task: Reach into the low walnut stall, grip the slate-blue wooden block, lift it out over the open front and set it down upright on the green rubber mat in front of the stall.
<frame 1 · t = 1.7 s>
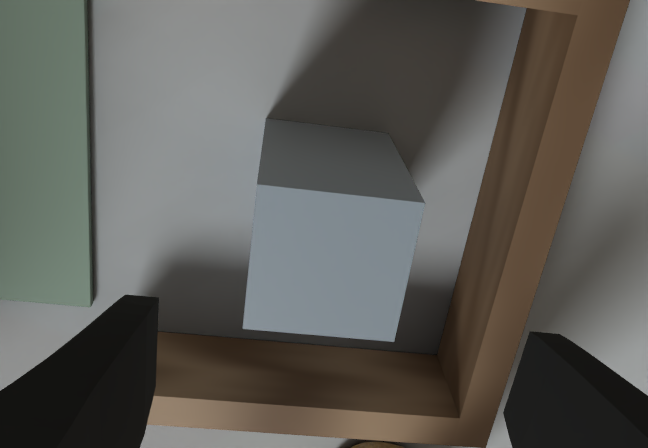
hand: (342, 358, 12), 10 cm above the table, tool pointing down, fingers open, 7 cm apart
walnut stall: (319, 183, 20), on the table
slate block: (323, 219, 18), in the walnut stall
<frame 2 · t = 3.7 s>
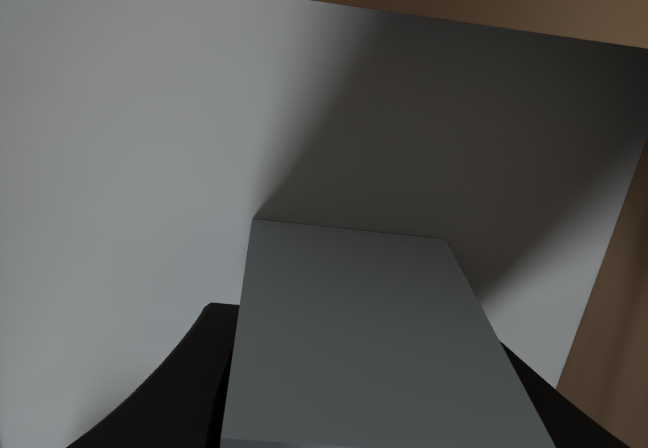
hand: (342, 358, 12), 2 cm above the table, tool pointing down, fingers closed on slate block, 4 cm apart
walnut stall: (335, 313, 13), on the table
slate block: (347, 406, 10), in the walnut stall, touching gripper
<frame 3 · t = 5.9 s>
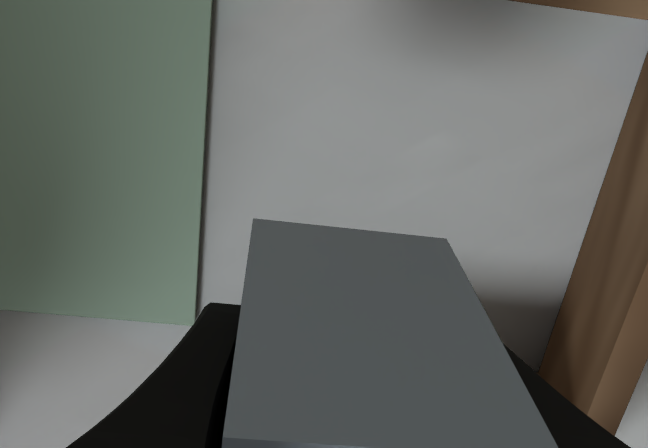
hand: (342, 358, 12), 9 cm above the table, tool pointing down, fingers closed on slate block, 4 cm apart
green mat: (57, 160, 19), on the table
walnut stall: (432, 200, 20), on the table
slate block: (349, 406, 10), point 10 cm above the table, touching gripper
when the fingers open (3 cm above the table, at t = 8.4 s): slate block drops 1 cm, resting on green mat.
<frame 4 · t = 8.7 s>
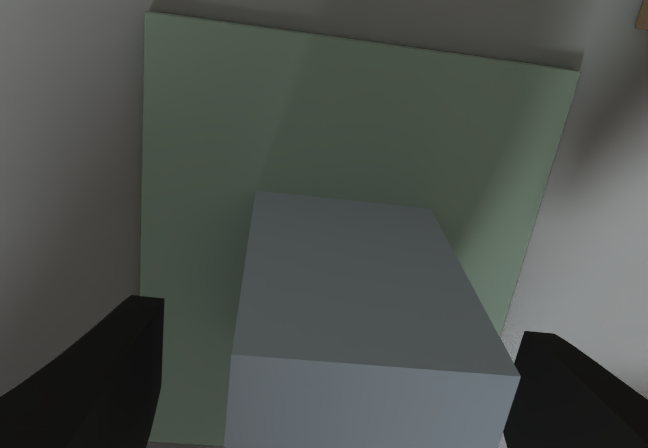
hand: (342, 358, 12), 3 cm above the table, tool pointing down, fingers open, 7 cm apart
green mat: (331, 272, 15), on the table
slate block: (341, 352, 12), resting on green mat
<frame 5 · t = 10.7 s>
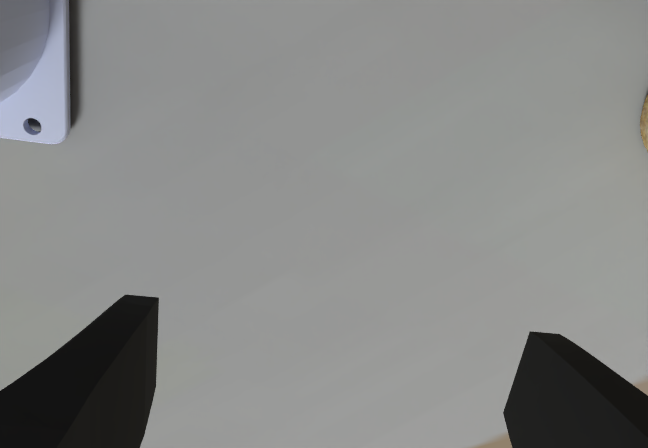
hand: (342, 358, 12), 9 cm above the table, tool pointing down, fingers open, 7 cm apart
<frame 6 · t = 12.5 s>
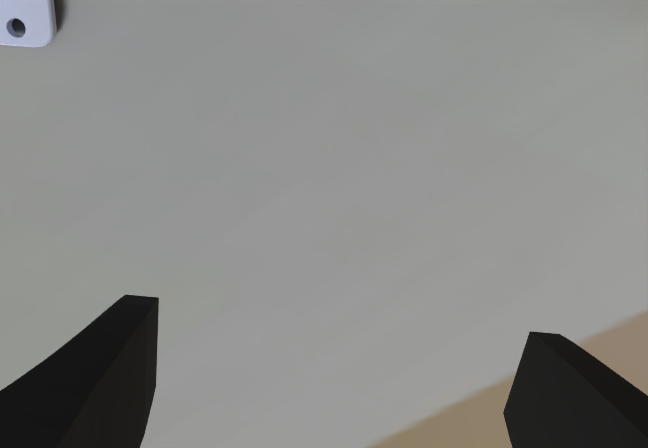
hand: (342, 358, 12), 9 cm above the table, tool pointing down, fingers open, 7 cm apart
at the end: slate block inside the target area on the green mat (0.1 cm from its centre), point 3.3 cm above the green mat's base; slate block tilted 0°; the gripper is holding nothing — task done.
